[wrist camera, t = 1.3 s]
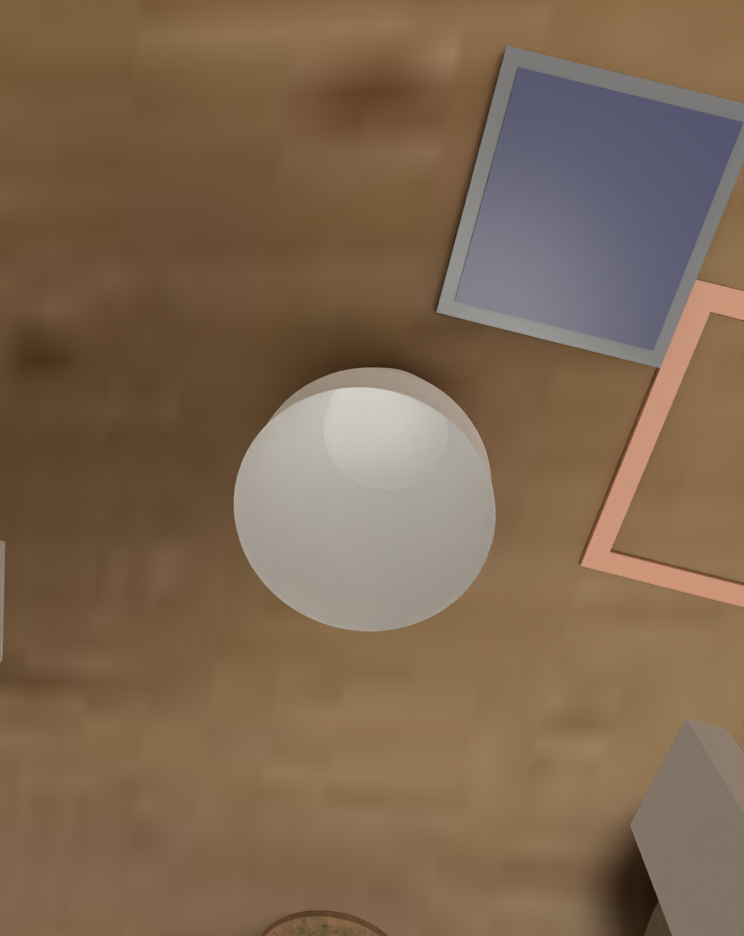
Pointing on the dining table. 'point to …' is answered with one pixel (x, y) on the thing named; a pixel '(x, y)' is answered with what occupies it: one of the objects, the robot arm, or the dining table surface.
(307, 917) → the mug
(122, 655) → the dining table surface
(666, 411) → the mark frame
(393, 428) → the cup
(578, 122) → the ink pad
